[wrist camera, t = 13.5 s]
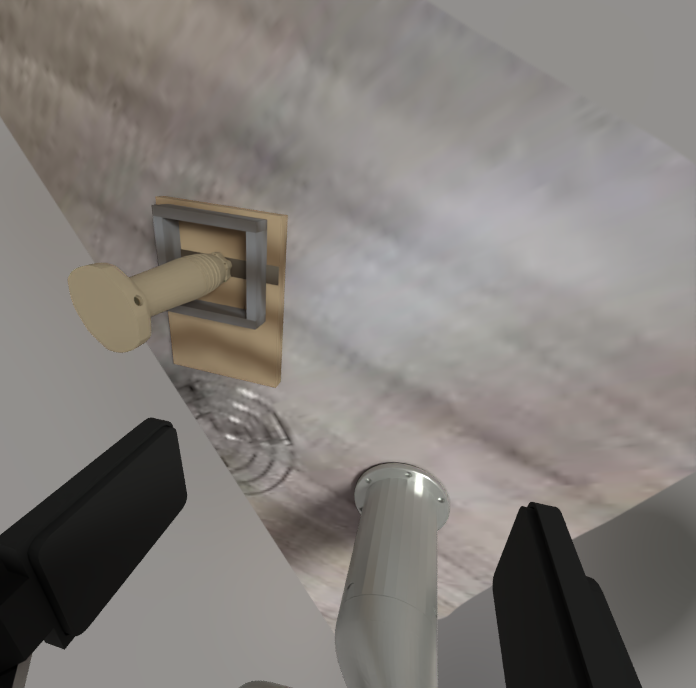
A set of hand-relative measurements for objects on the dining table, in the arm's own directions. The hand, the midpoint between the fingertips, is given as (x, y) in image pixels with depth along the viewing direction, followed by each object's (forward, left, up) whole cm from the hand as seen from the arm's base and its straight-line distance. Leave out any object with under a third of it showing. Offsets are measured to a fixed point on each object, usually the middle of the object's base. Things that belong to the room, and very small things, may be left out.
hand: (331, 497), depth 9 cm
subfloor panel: (-7, +20, -29) cm, 36 cm away
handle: (-3, +20, -28) cm, 34 cm away
